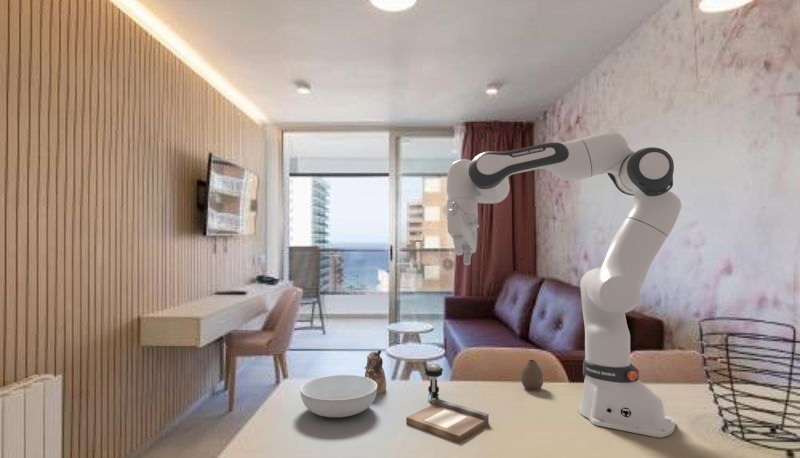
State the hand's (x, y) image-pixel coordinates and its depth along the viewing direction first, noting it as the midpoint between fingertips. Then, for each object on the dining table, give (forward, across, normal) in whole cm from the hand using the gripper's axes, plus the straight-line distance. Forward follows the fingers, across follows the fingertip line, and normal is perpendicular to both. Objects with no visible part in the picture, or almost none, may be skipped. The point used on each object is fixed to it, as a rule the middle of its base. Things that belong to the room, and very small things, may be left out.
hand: (463, 259), depth 122 cm
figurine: (+34, +18, +33) cm, 51 cm away
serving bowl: (+40, +1, +35) cm, 54 cm away
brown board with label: (+42, +4, +6) cm, 43 cm away
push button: (+37, +17, +13) cm, 43 cm away
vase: (+32, +38, -12) cm, 51 cm away
